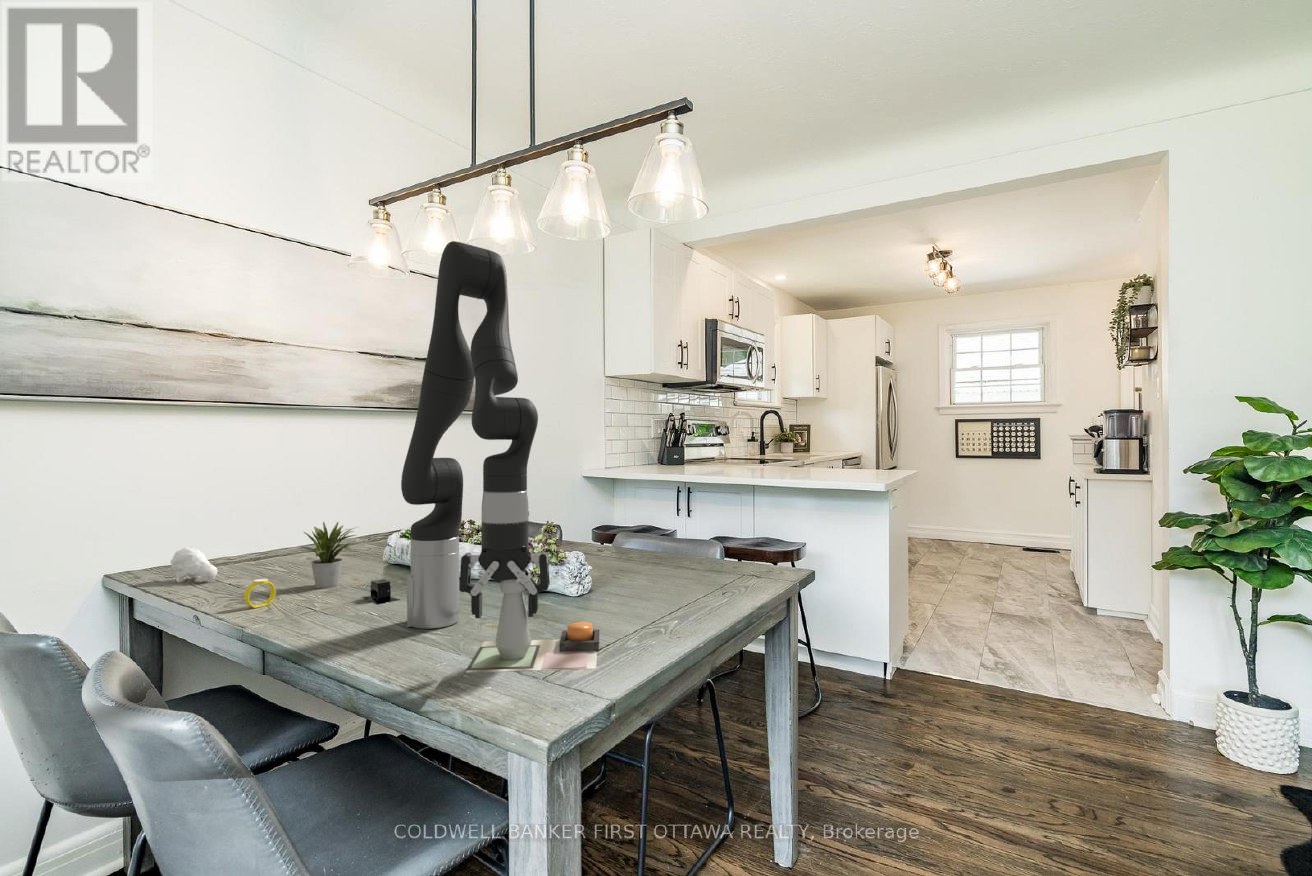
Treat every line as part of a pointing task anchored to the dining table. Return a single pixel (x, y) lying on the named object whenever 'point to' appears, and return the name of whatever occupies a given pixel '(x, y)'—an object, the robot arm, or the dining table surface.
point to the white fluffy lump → (192, 565)
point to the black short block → (380, 592)
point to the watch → (249, 589)
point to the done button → (580, 631)
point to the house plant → (327, 556)
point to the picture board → (540, 656)
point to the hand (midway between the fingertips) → (505, 616)
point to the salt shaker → (513, 622)
